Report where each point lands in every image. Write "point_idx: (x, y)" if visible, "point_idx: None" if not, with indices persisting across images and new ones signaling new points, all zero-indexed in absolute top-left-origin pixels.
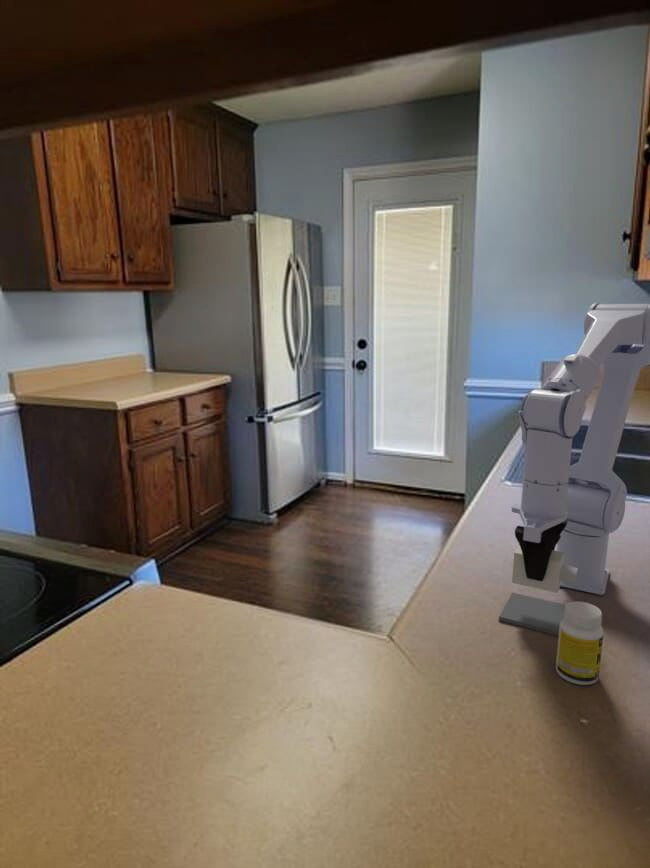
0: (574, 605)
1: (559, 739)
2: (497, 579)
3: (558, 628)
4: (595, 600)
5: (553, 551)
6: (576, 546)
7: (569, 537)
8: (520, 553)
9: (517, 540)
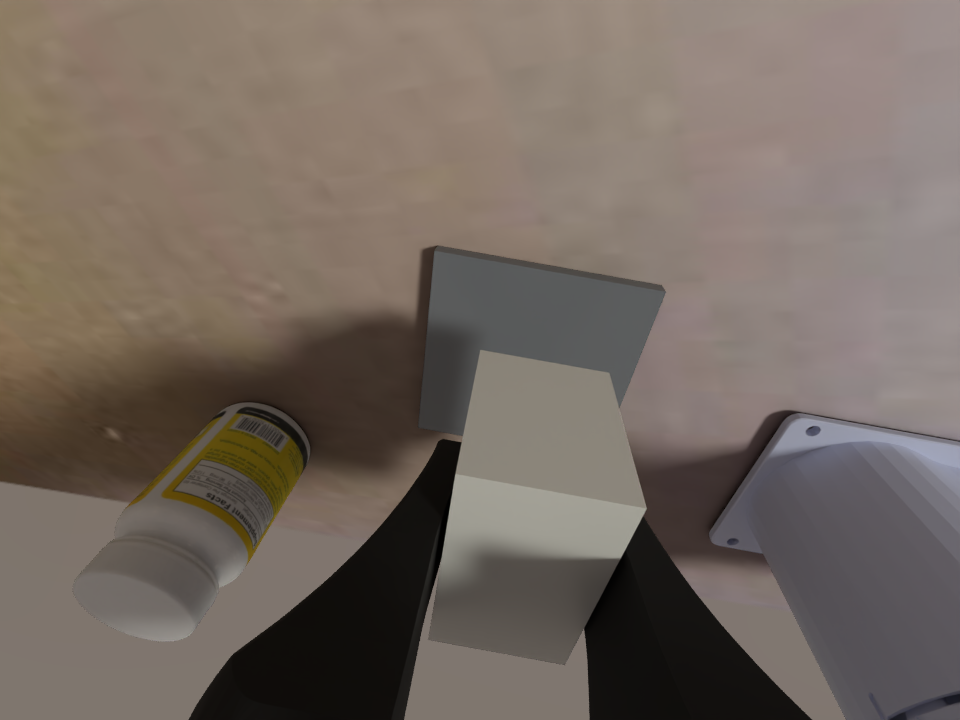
0: (140, 595)
1: (20, 391)
2: (842, 211)
3: (437, 424)
4: (676, 513)
5: (563, 634)
6: (854, 640)
7: (917, 665)
8: (461, 504)
9: (269, 629)
